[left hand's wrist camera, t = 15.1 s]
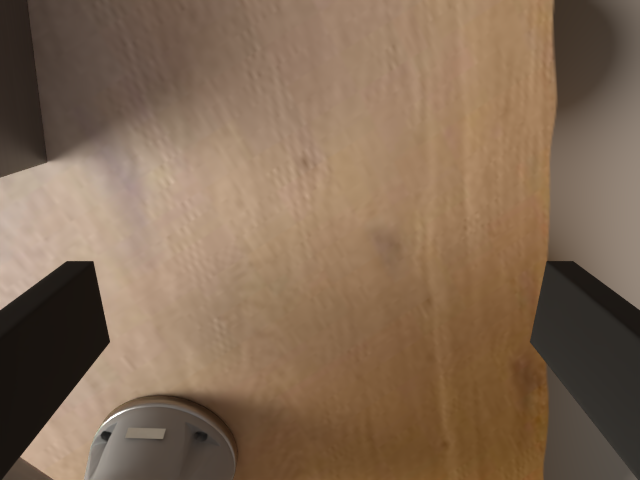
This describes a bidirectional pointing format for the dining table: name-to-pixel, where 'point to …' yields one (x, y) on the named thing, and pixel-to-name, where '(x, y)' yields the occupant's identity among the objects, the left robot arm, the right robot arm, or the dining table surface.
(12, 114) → the bar
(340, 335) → the dining table surface
